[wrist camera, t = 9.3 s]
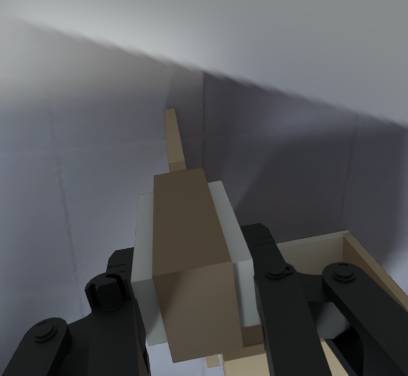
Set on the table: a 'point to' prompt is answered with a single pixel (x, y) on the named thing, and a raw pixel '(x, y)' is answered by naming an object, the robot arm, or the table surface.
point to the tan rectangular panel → (191, 262)
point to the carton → (313, 264)
